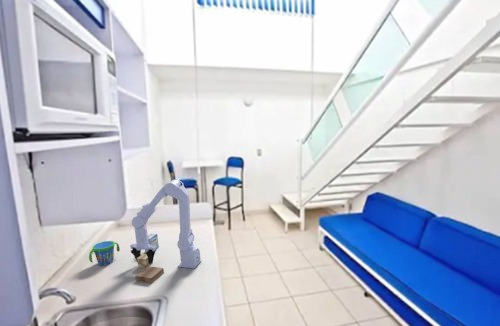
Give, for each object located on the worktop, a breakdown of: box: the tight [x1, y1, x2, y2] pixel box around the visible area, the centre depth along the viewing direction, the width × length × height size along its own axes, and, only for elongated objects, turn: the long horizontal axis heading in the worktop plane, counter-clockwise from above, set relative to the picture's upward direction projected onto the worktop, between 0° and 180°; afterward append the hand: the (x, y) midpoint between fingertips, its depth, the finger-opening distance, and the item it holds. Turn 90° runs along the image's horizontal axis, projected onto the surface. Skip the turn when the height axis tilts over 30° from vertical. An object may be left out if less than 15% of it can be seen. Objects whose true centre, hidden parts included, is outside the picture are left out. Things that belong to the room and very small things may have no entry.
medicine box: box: [144, 233, 160, 254], centre depth 166 cm, size 8×4×9 cm, turn 168°
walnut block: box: [135, 265, 165, 284], centre depth 138 cm, size 9×9×3 cm
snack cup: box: [88, 240, 120, 266], centre depth 154 cm, size 16×10×10 cm
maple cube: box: [136, 253, 154, 269], centre depth 149 cm, size 5×5×5 cm
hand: (145, 262), depth 149 cm, fingers open, 7 cm apart
